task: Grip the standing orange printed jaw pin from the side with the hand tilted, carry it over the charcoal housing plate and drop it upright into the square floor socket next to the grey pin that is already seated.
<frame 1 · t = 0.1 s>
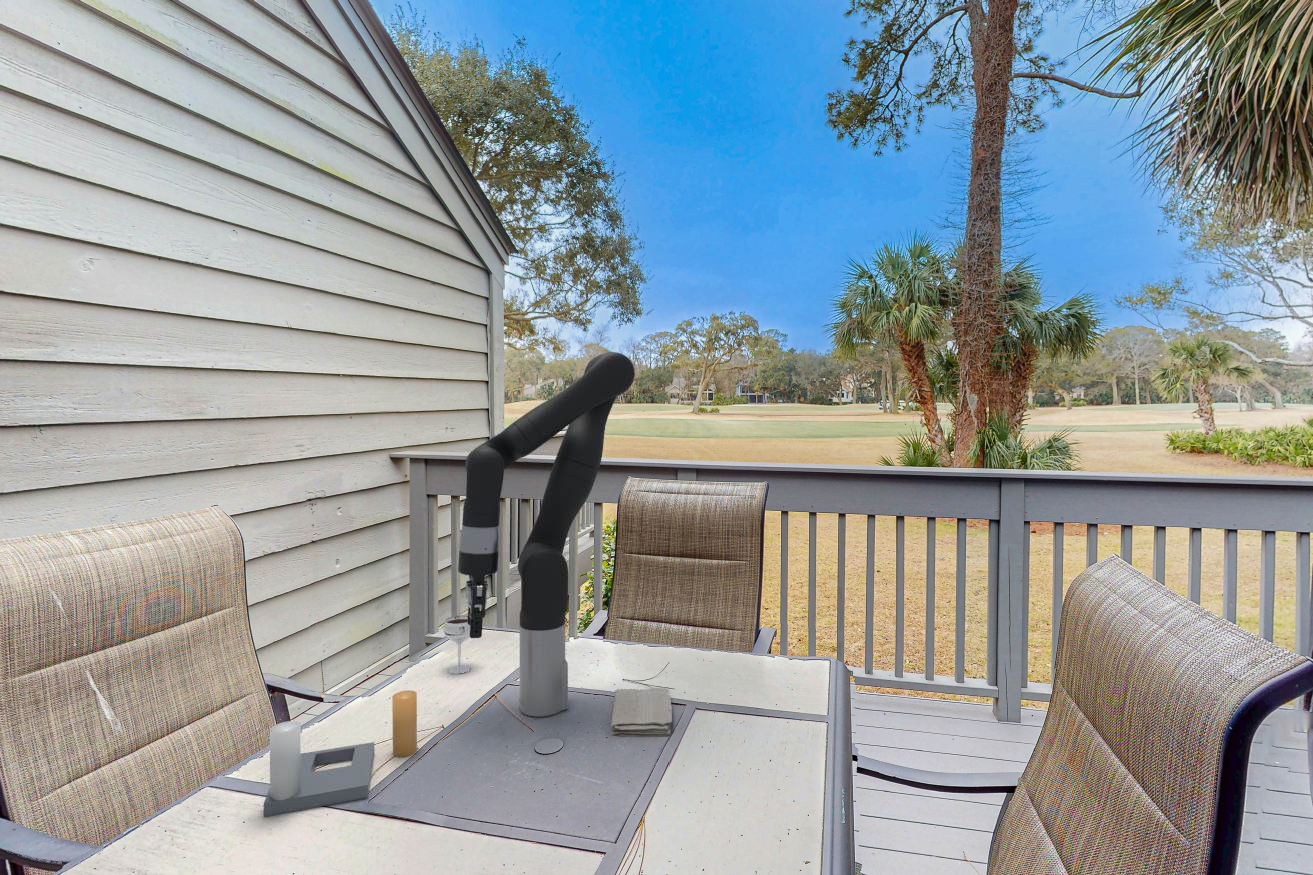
hand: (474, 630, 124), 17 cm above the table, tool pointing down, fingers open, 8 cm apart
wineglass: (459, 670, 148), on the table
housing: (323, 782, 102), on the table
jaw pin: (404, 750, 112), on the table
washcloth: (641, 718, 126), on the table
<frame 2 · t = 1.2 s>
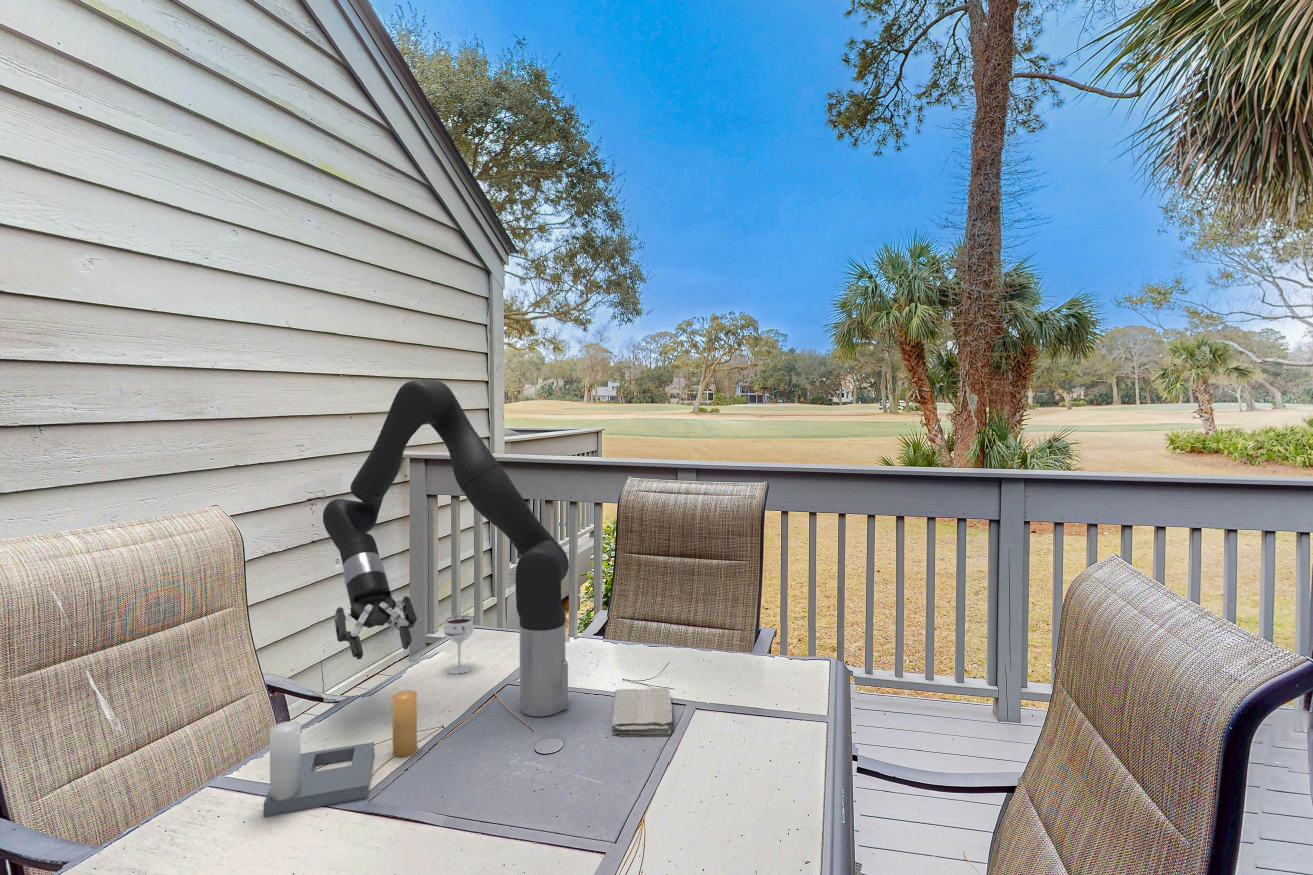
hand: (384, 651, 120), 15 cm above the table, tool tilted 45°, fingers open, 8 cm apart
nothing on the table moved.
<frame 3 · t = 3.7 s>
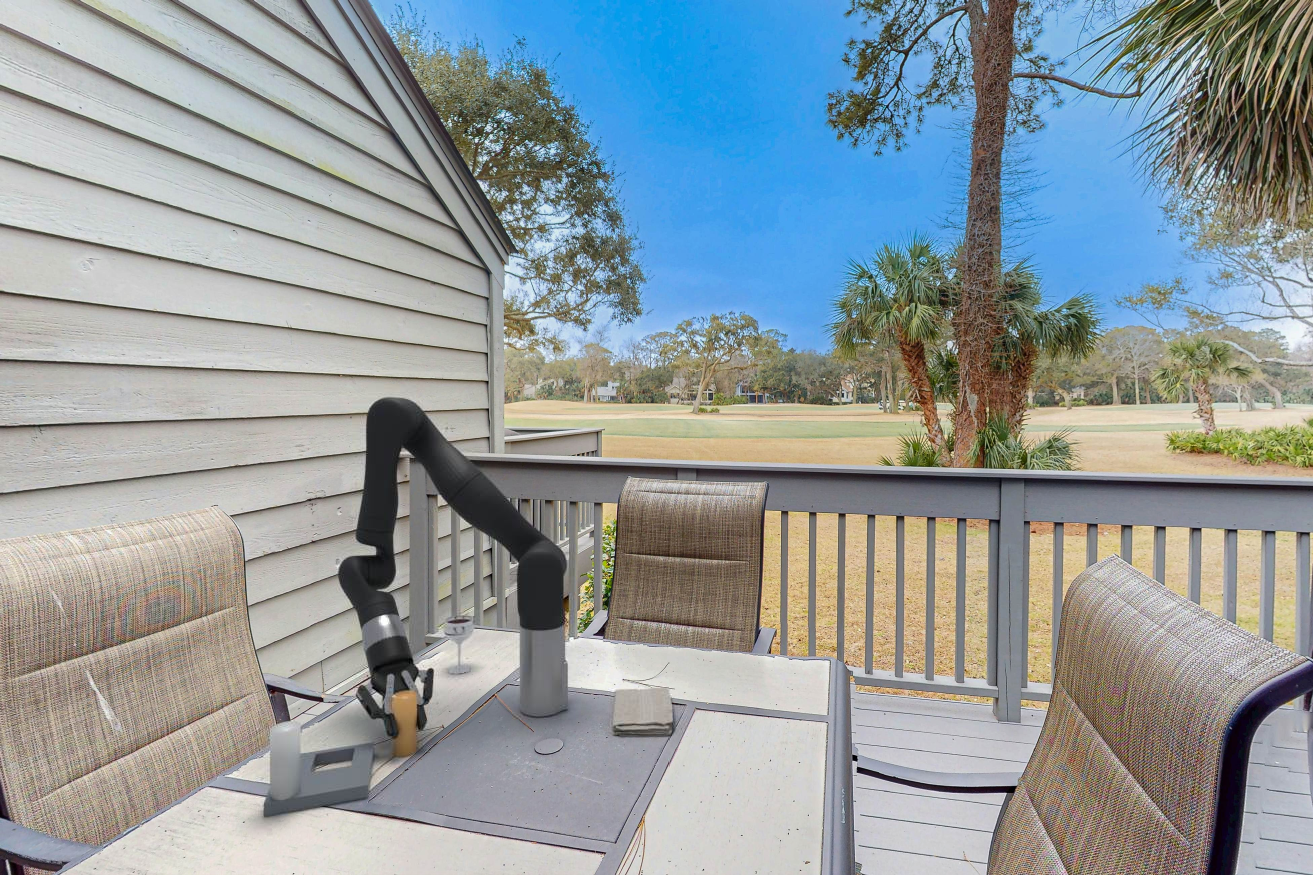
hand: (408, 732, 110), 4 cm above the table, tool tilted 45°, fingers closed on jaw pin, 4 cm apart
jaw pin: (405, 750, 112), on the table, touching gripper
everything else where it was.
when the fingers open (6 cm above the table, at t = 8.3 s): jaw pin drops 2 cm, resting in housing.
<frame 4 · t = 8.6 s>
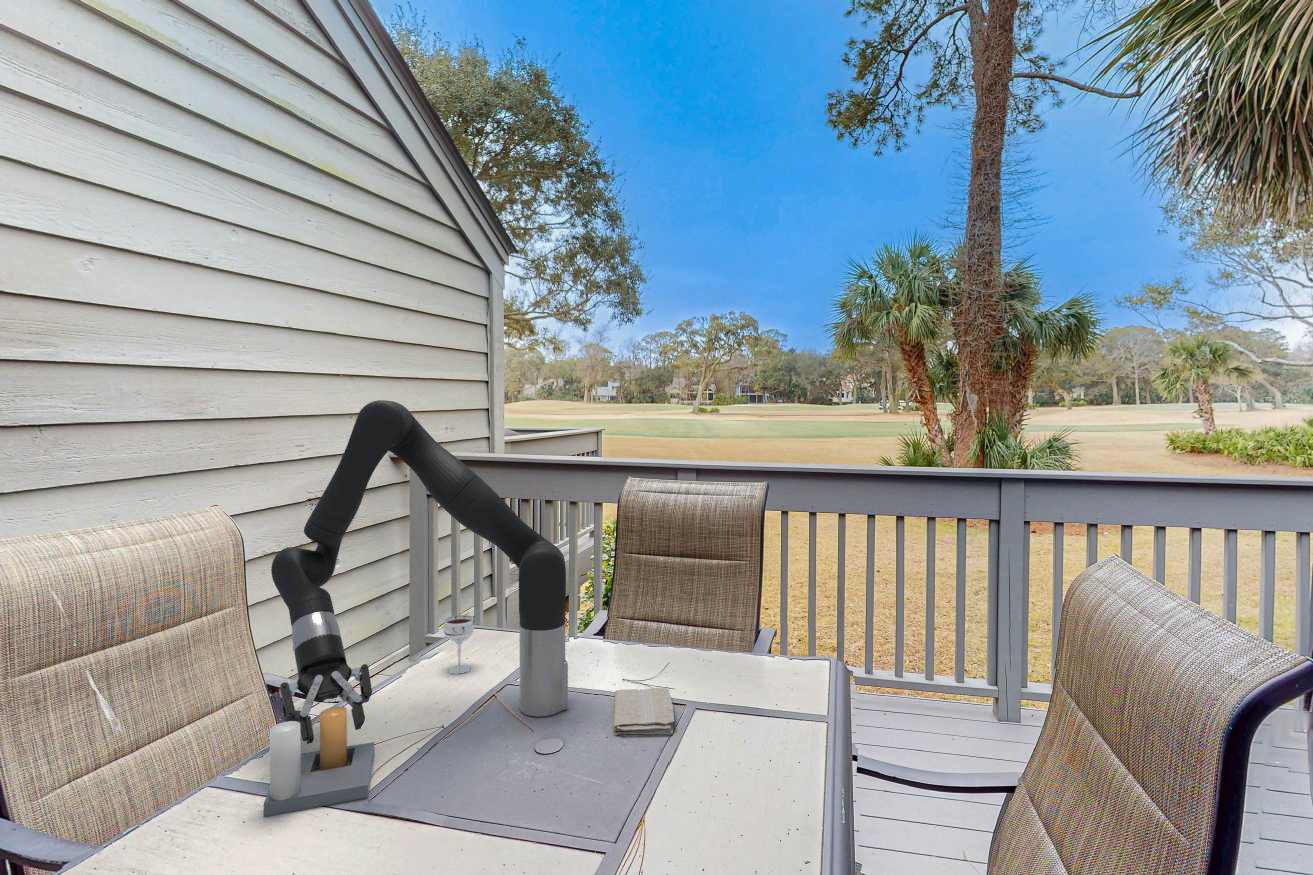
hand: (335, 733, 104), 7 cm above the table, tool tilted 45°, fingers open, 6 cm apart
jaw pin: (333, 770, 105), resting in housing
everything else where it was.
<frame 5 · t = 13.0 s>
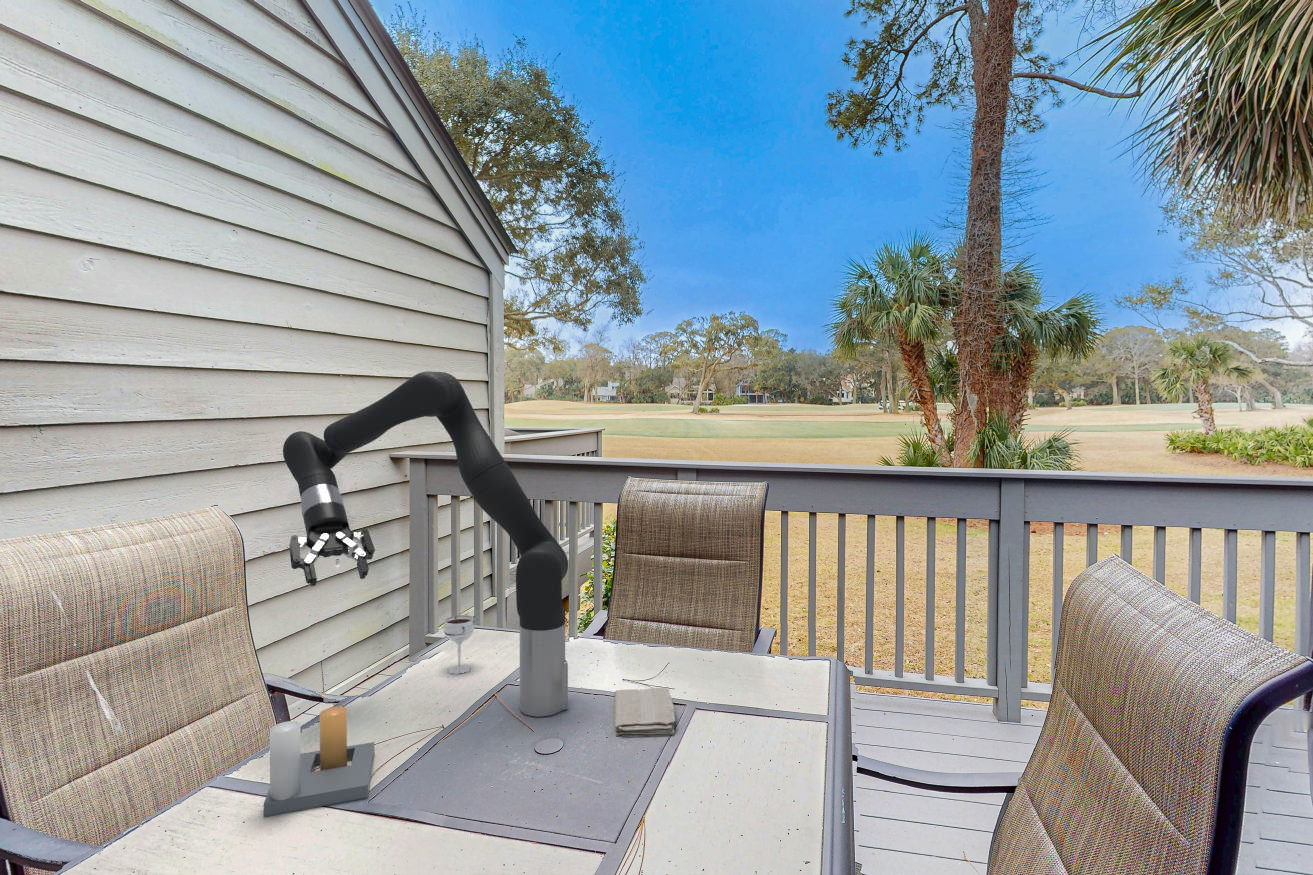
hand: (339, 579, 118), 29 cm above the table, tool tilted 45°, fingers open, 8 cm apart
nothing on the table moved.
at the end: jaw pin 0.2 cm from the target spot on the housing, point 0.0 cm above the housing's base; jaw pin tilted 0°; the gripper is holding nothing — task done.
